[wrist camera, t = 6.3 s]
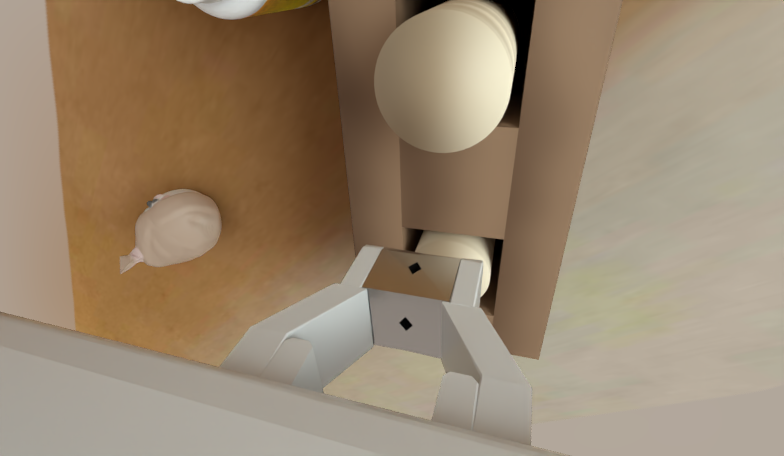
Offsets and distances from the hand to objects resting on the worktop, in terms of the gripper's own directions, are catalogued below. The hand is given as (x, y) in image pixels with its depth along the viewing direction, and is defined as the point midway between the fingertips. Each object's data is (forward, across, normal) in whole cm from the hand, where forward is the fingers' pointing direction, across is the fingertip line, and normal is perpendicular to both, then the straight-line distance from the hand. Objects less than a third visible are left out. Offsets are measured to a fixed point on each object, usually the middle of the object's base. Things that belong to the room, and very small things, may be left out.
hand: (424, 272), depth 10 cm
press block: (+18, +1, +2) cm, 18 cm away
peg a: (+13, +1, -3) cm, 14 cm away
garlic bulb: (+18, +25, +12) cm, 33 cm away
